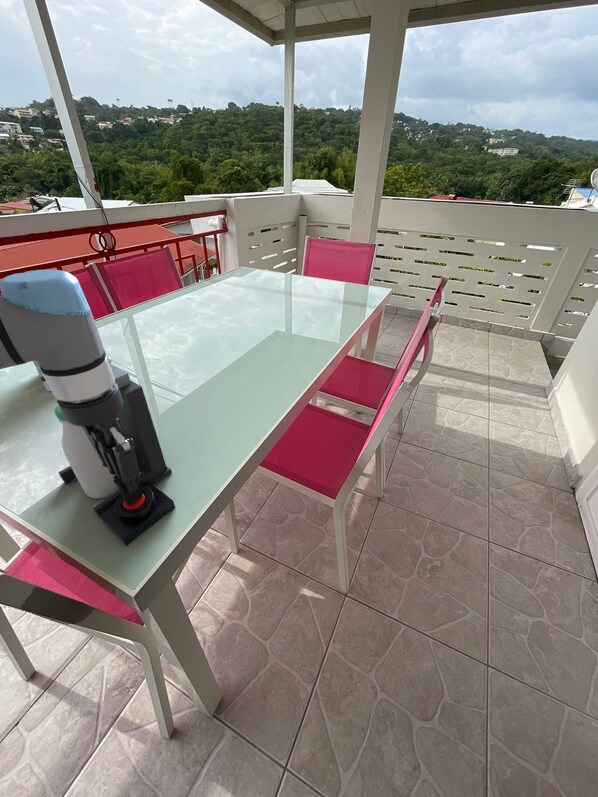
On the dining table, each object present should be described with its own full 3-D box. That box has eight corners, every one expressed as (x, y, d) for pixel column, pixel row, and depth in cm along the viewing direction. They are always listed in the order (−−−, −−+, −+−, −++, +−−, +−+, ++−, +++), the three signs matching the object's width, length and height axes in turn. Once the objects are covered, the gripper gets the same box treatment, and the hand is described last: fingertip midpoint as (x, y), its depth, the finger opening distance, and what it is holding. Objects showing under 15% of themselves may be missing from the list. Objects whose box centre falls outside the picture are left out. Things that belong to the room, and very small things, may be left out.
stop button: (132, 518, 58) (129, 512, 57) (121, 507, 60) (118, 501, 59) (150, 504, 61) (148, 498, 60) (139, 495, 62) (137, 488, 61)
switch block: (126, 546, 56) (119, 533, 54) (102, 522, 60) (95, 508, 58) (175, 507, 63) (171, 493, 61) (151, 487, 67) (146, 474, 65)
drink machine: (102, 522, 60) (47, 419, 47) (62, 481, 68) (5, 382, 54) (172, 473, 70) (143, 376, 57) (130, 442, 78) (96, 350, 64)
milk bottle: (135, 480, 69) (103, 401, 57) (99, 506, 63) (57, 425, 52) (112, 465, 72) (79, 388, 61) (77, 488, 67) (33, 409, 55)
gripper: (138, 393, 45) (173, 503, 59) (90, 365, 51) (133, 470, 65) (81, 420, 40) (134, 533, 54) (37, 385, 46) (94, 494, 60)
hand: (133, 498), depth 59 cm, fingers closed
